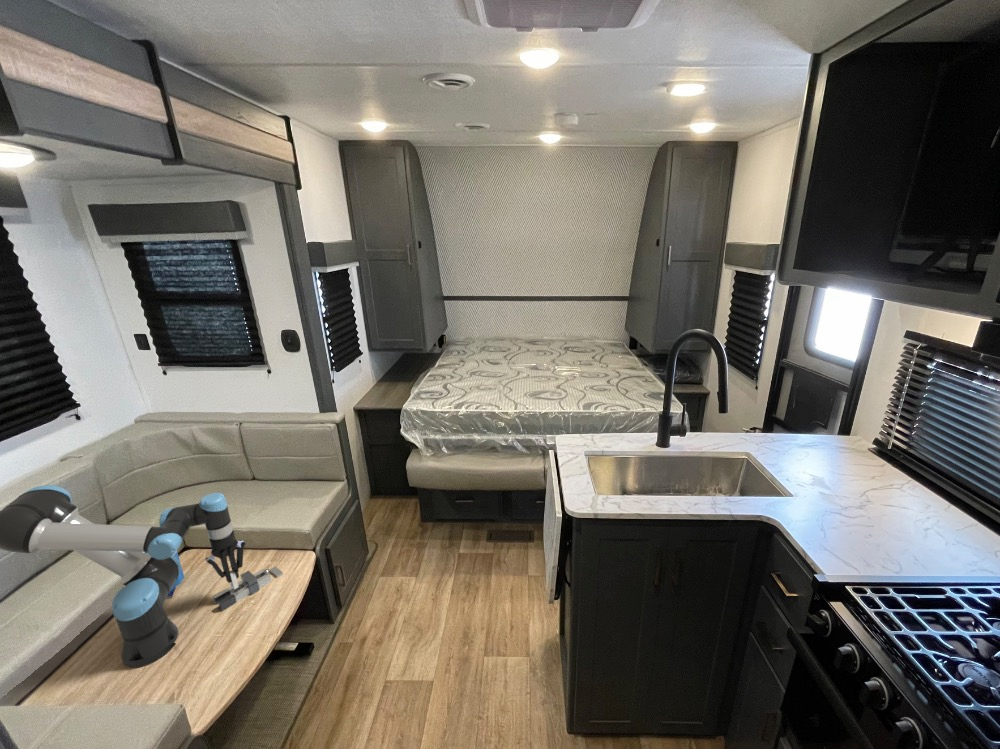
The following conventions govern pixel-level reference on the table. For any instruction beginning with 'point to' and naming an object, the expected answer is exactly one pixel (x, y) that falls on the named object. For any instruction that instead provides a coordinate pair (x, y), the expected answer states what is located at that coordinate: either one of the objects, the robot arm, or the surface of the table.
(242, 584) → the arm
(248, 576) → the collar
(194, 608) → the table surface
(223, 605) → the tongs fixed
